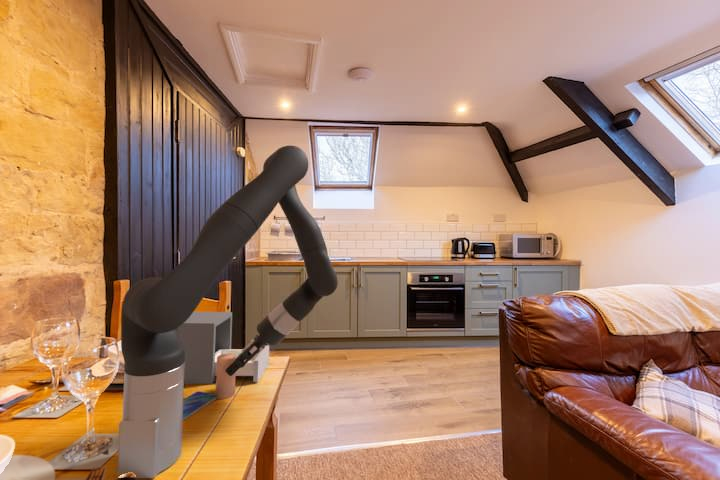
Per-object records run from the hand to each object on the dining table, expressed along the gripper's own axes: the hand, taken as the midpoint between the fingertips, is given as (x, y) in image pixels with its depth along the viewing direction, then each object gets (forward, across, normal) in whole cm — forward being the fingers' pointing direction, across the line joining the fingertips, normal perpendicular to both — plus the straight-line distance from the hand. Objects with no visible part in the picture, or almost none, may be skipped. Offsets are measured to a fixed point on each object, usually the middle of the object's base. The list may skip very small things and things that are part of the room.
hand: (234, 366), depth 80 cm
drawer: (+7, -13, +3) cm, 15 cm away
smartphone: (+12, +7, -1) cm, 14 cm away
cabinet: (+17, -13, -6) cm, 22 cm away
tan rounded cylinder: (+7, 0, +4) cm, 8 cm away
